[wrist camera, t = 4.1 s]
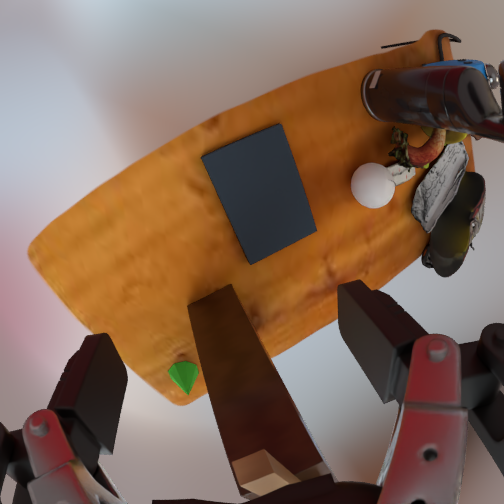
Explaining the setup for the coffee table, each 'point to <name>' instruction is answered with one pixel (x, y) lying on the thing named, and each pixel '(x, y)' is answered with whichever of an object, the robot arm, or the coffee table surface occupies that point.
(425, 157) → the mushroom
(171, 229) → the coffee table surface
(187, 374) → the gemstone
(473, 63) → the alarm clock
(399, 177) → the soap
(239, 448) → the tall dark wooden block
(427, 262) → the toy car
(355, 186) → the white egg
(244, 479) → the brush
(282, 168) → the mat
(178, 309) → the coffee table surface
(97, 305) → the coffee table surface
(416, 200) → the stone
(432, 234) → the athletic shoe
